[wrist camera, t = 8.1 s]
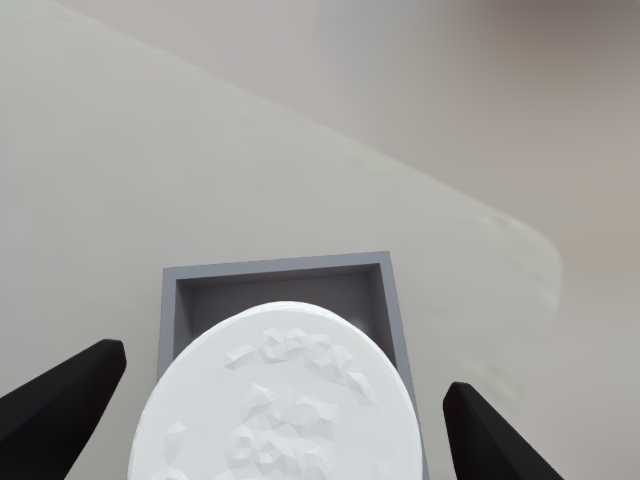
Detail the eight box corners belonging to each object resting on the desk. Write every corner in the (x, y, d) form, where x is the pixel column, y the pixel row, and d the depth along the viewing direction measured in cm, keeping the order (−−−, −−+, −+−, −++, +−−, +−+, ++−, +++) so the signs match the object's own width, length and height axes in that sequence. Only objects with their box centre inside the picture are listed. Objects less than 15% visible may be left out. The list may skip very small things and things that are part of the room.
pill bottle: (302, 472, 15) (335, 846, 4) (202, 396, 15) (-9, 537, 4) (366, 358, 16) (508, 399, 6) (275, 295, 17) (249, 223, 6)
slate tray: (404, 475, 16) (435, 512, 12) (180, 512, 14) (147, 565, 11) (372, 265, 19) (389, 250, 16) (187, 280, 18) (163, 268, 14)
